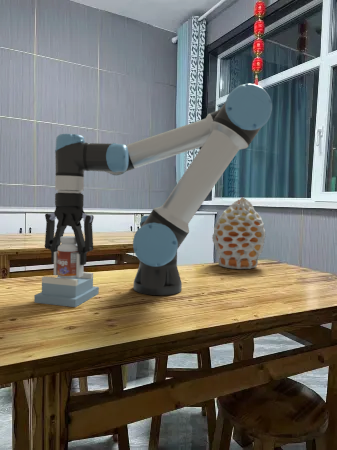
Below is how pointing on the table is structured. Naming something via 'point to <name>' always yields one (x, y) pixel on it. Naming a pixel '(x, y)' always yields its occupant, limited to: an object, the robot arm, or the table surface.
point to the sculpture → (239, 236)
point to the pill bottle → (67, 257)
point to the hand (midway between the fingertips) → (68, 275)
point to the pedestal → (67, 290)
